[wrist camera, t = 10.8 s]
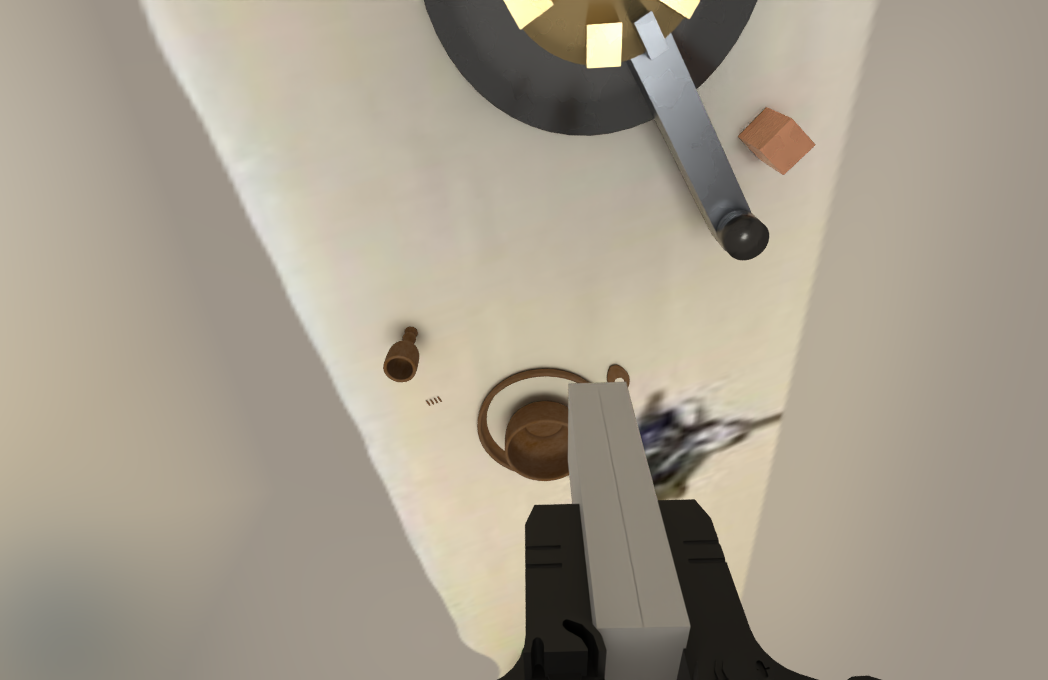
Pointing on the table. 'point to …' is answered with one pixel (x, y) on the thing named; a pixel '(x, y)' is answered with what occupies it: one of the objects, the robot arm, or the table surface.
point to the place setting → (532, 429)
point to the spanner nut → (653, 94)
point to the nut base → (596, 74)
